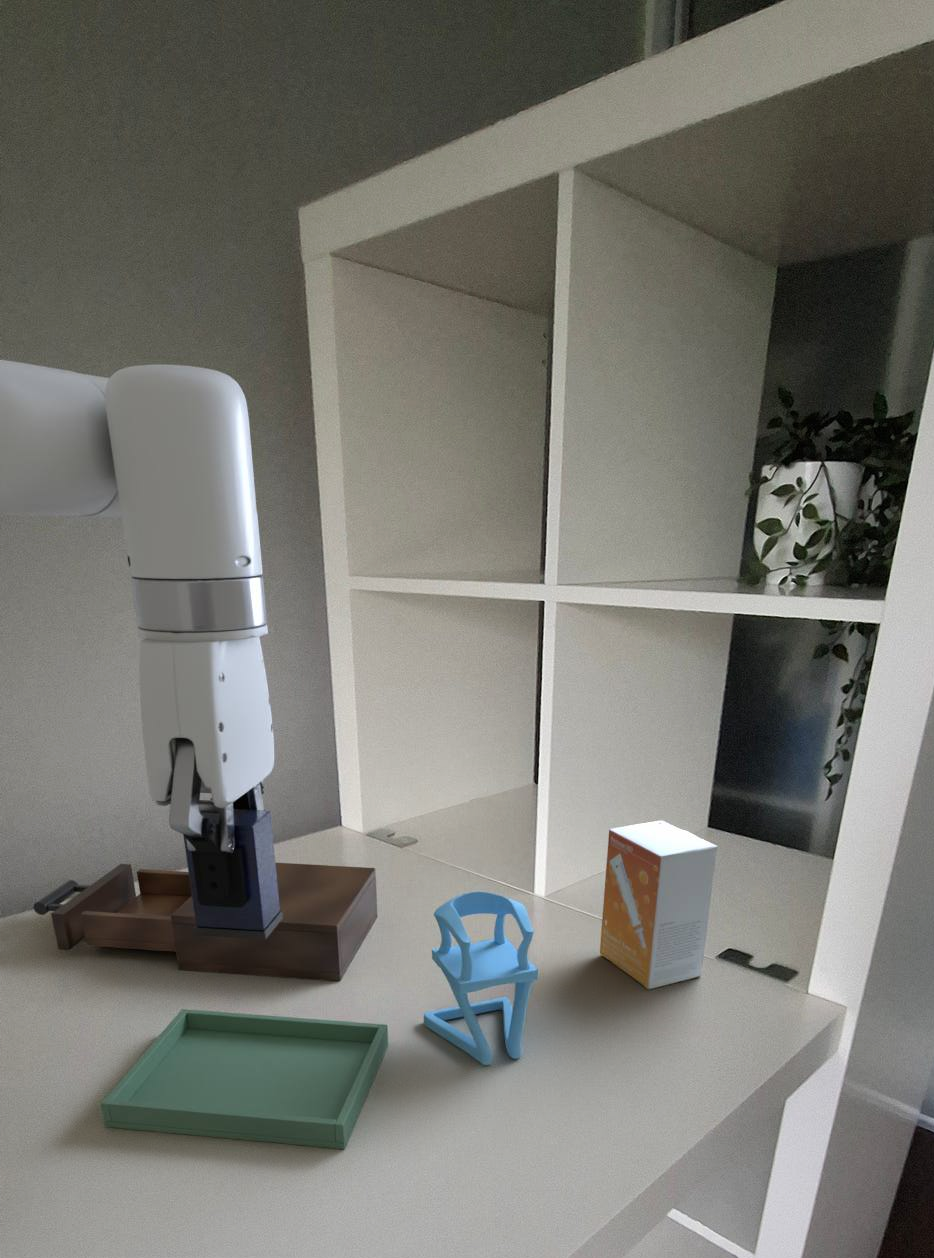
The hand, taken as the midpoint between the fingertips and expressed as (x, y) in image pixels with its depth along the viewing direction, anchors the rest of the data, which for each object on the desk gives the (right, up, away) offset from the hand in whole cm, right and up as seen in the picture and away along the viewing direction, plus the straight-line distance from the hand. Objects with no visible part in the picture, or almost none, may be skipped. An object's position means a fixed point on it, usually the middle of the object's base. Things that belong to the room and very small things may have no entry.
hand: (234, 890), depth 62 cm
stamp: (0, -2, +1) cm, 3 cm away
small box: (+33, -6, +25) cm, 41 cm away
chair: (+17, -12, +13) cm, 24 cm away
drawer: (-18, -2, +30) cm, 35 cm away
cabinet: (-3, -4, +29) cm, 29 cm away
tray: (0, -14, +6) cm, 16 cm away
